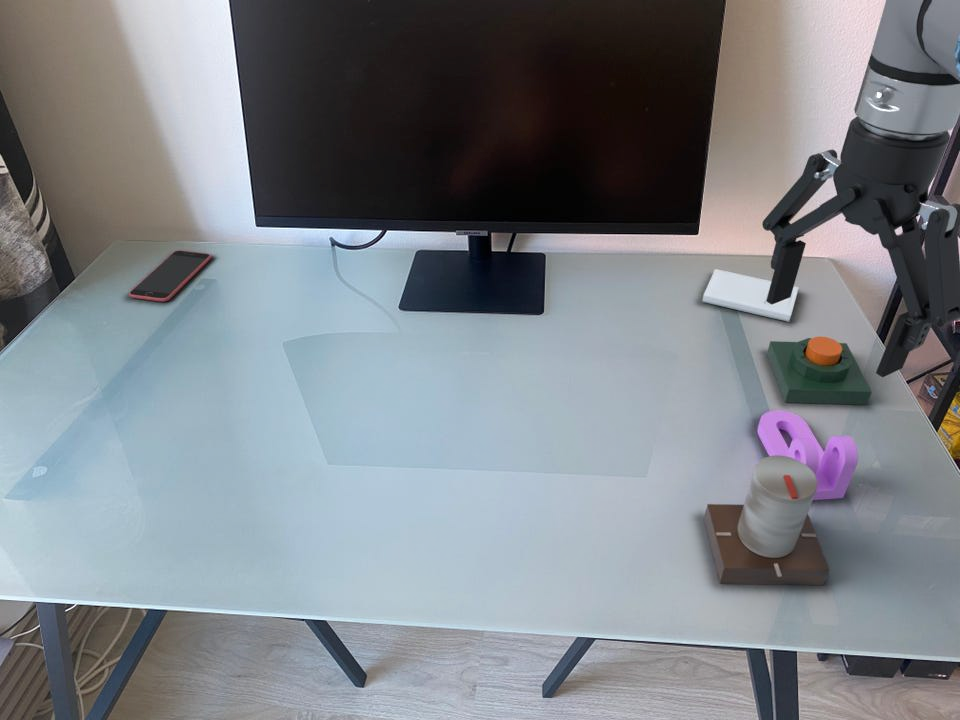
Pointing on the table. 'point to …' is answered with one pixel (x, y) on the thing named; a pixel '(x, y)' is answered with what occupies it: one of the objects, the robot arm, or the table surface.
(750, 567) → the panel
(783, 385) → the switchbox
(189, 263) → the smartphone
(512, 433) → the table surface
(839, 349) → the button
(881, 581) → the table surface
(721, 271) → the hard drive
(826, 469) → the bracket
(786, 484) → the dial
